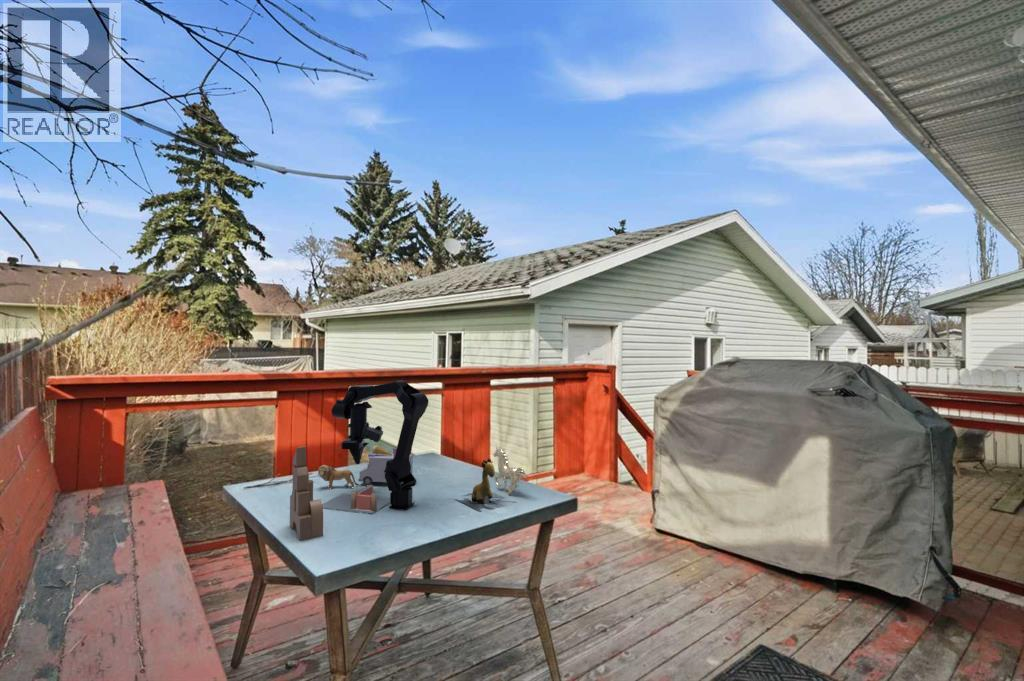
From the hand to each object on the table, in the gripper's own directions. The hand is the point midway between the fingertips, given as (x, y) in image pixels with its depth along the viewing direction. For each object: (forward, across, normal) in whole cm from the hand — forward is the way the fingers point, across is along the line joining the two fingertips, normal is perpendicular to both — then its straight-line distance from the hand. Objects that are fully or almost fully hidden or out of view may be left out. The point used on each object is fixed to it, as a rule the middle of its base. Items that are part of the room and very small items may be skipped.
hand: (357, 464), depth 176 cm
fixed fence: (+12, -13, -6) cm, 19 cm away
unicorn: (+12, +7, -54) cm, 56 cm away
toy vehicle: (+12, +17, -6) cm, 22 cm away
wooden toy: (+12, -30, +6) cm, 33 cm away
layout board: (+12, -7, -2) cm, 14 cm away
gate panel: (+11, -6, -4) cm, 13 cm away
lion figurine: (+12, +11, +11) cm, 20 cm away
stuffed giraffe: (+12, -2, -45) cm, 47 cm away
